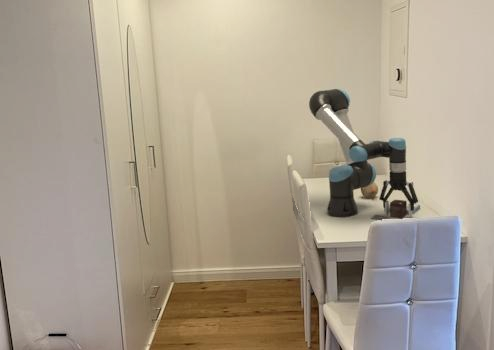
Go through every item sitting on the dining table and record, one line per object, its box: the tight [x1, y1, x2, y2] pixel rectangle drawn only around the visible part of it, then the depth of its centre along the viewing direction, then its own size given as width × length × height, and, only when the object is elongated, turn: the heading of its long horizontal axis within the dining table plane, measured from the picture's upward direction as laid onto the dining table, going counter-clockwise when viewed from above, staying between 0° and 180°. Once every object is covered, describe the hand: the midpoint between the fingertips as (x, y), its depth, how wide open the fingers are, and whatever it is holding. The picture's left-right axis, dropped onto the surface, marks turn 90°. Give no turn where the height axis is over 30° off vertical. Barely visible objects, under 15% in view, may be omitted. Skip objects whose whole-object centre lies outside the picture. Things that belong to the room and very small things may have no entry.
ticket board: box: [383, 203, 421, 215], centre depth 242 cm, size 14×12×2 cm
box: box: [389, 199, 408, 219], centre depth 233 cm, size 6×6×7 cm
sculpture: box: [360, 181, 379, 199], centre depth 269 cm, size 9×9×15 cm
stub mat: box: [370, 214, 390, 221], centre depth 233 cm, size 7×6×1 cm
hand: (398, 215), depth 234 cm, fingers open, 11 cm apart
